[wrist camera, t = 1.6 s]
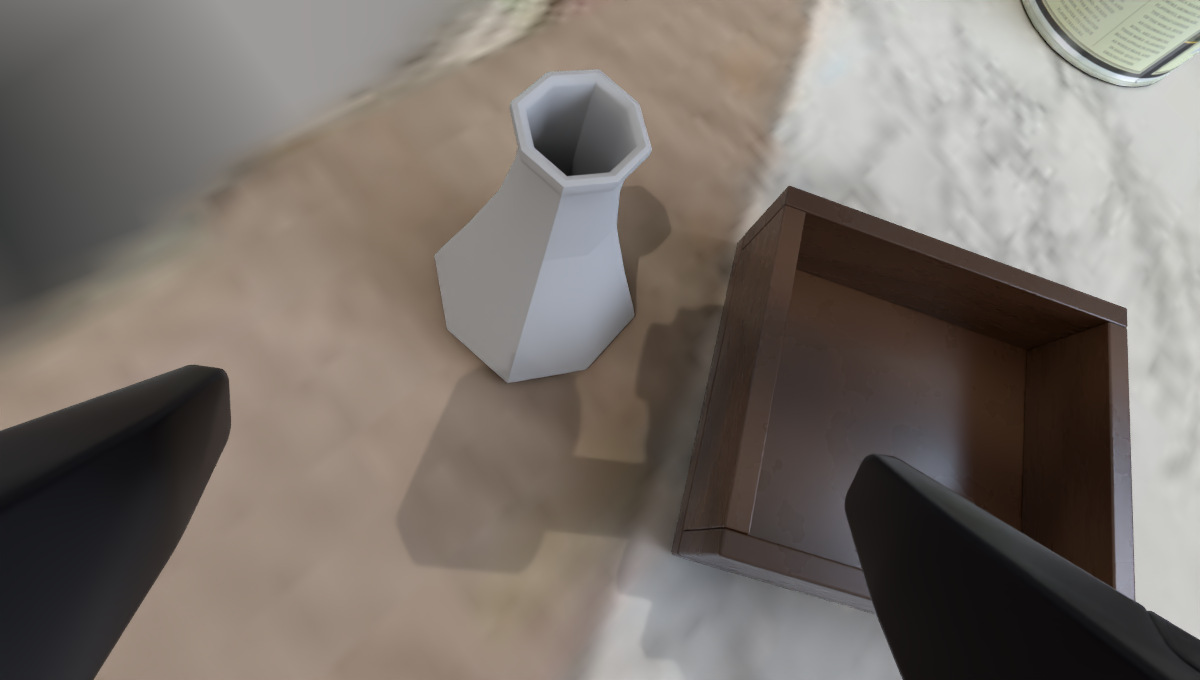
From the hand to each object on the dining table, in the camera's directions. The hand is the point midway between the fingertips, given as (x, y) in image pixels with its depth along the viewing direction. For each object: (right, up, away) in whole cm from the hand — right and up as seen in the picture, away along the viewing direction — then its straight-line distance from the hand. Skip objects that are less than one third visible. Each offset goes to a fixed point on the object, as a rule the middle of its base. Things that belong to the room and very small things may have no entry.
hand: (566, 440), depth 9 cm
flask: (-2, +3, +15) cm, 16 cm away
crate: (+11, -2, +16) cm, 19 cm away
